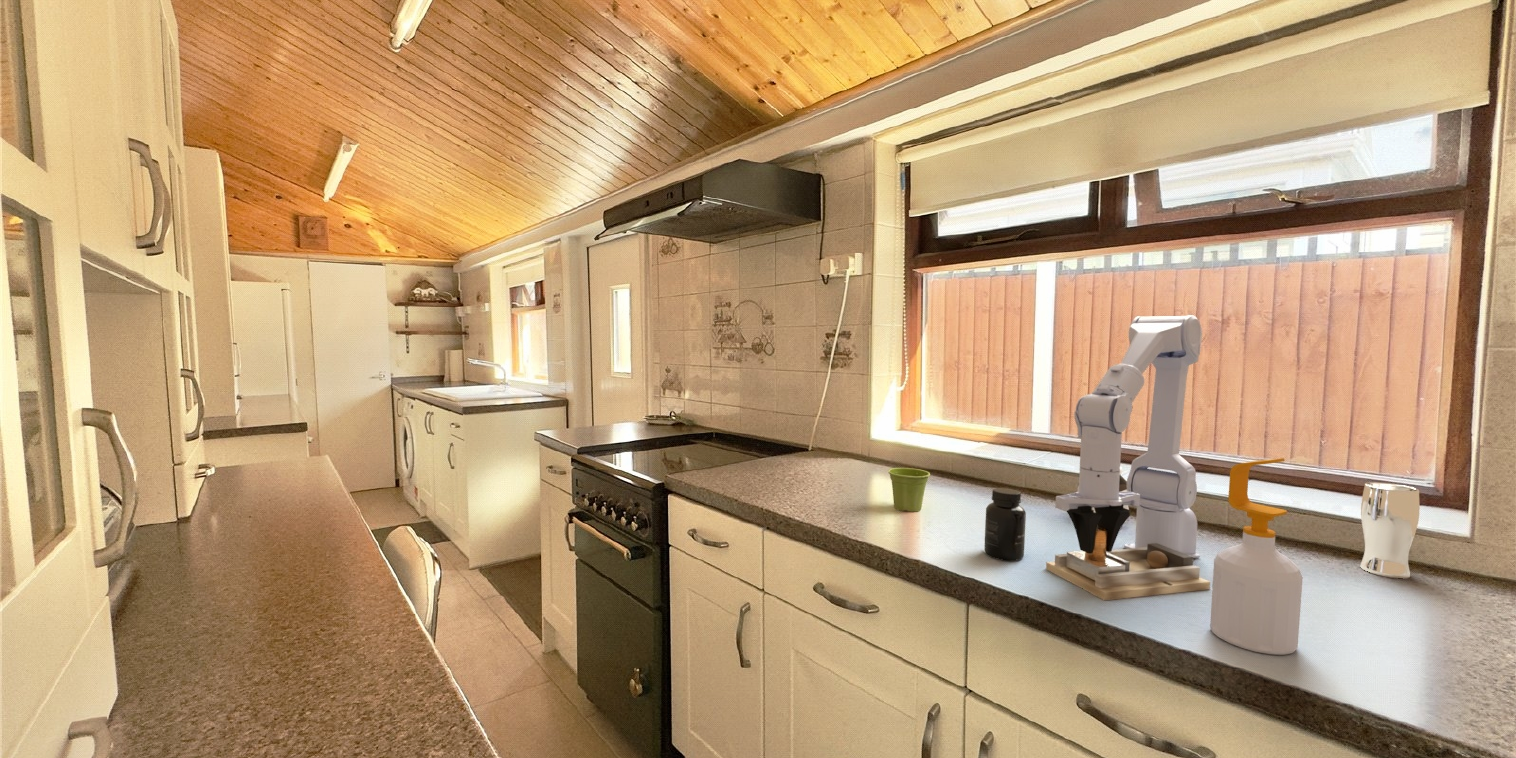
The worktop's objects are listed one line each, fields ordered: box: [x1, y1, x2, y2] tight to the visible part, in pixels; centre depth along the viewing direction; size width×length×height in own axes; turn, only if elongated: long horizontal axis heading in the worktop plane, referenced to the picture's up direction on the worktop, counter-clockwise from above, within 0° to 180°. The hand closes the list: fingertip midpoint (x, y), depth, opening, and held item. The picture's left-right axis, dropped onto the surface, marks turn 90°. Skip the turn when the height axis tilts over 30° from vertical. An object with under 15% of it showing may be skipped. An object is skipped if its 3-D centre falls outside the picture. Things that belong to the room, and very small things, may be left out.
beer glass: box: [1359, 481, 1421, 580], centre depth 106 cm, size 7×7×15 cm
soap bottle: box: [1209, 457, 1303, 656], centre depth 81 cm, size 9×9×25 cm
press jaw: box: [1066, 526, 1130, 580], centre depth 101 cm, size 6×7×7 cm
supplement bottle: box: [983, 487, 1027, 562], centre depth 113 cm, size 7×7×12 cm
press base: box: [1045, 543, 1211, 601], centre depth 102 cm, size 20×13×4 cm, turn 103°
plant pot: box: [887, 467, 931, 513], centre depth 143 cm, size 9×9×9 cm
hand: (1095, 550), depth 101 cm, fingers open, 3 cm apart
